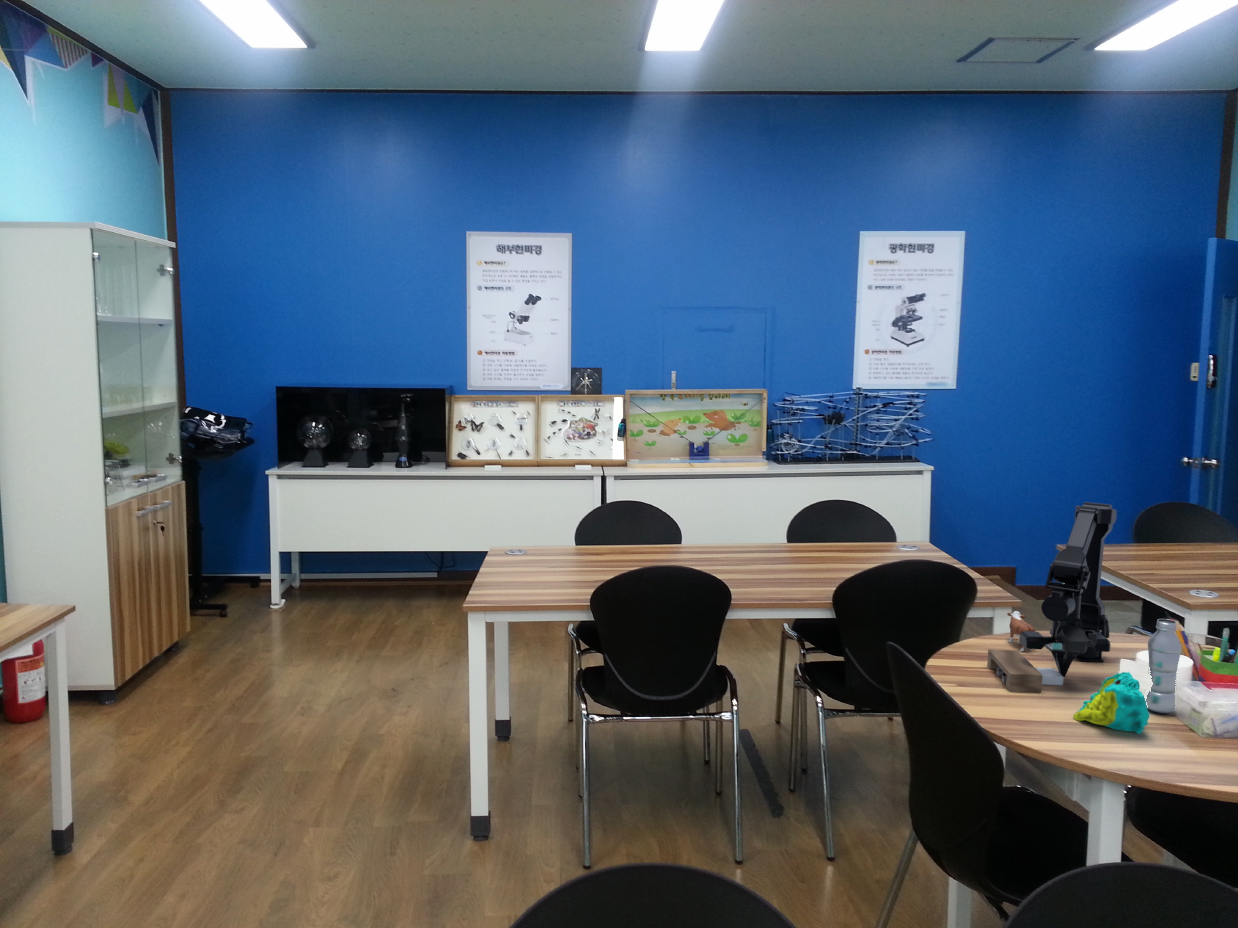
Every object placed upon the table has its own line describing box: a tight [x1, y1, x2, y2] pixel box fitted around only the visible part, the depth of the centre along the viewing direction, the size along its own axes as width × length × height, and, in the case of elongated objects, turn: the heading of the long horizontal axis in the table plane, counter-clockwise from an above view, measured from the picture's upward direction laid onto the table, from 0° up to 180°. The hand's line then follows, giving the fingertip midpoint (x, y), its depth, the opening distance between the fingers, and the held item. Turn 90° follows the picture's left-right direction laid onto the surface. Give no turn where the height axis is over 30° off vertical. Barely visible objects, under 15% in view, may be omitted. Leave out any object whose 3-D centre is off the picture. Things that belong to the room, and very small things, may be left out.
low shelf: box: [987, 648, 1043, 694], centre depth 224 cm, size 7×18×4 cm, turn 174°
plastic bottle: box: [1146, 618, 1182, 714], centre depth 204 cm, size 6×7×20 cm
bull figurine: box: [1007, 610, 1036, 653], centre depth 250 cm, size 4×13×8 cm, turn 174°
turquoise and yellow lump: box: [1072, 671, 1150, 735], centre depth 197 cm, size 15×12×13 cm
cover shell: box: [1035, 667, 1064, 686], centre depth 224 cm, size 11×6×2 cm, turn 84°
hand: (1062, 676), depth 223 cm, fingers closed
